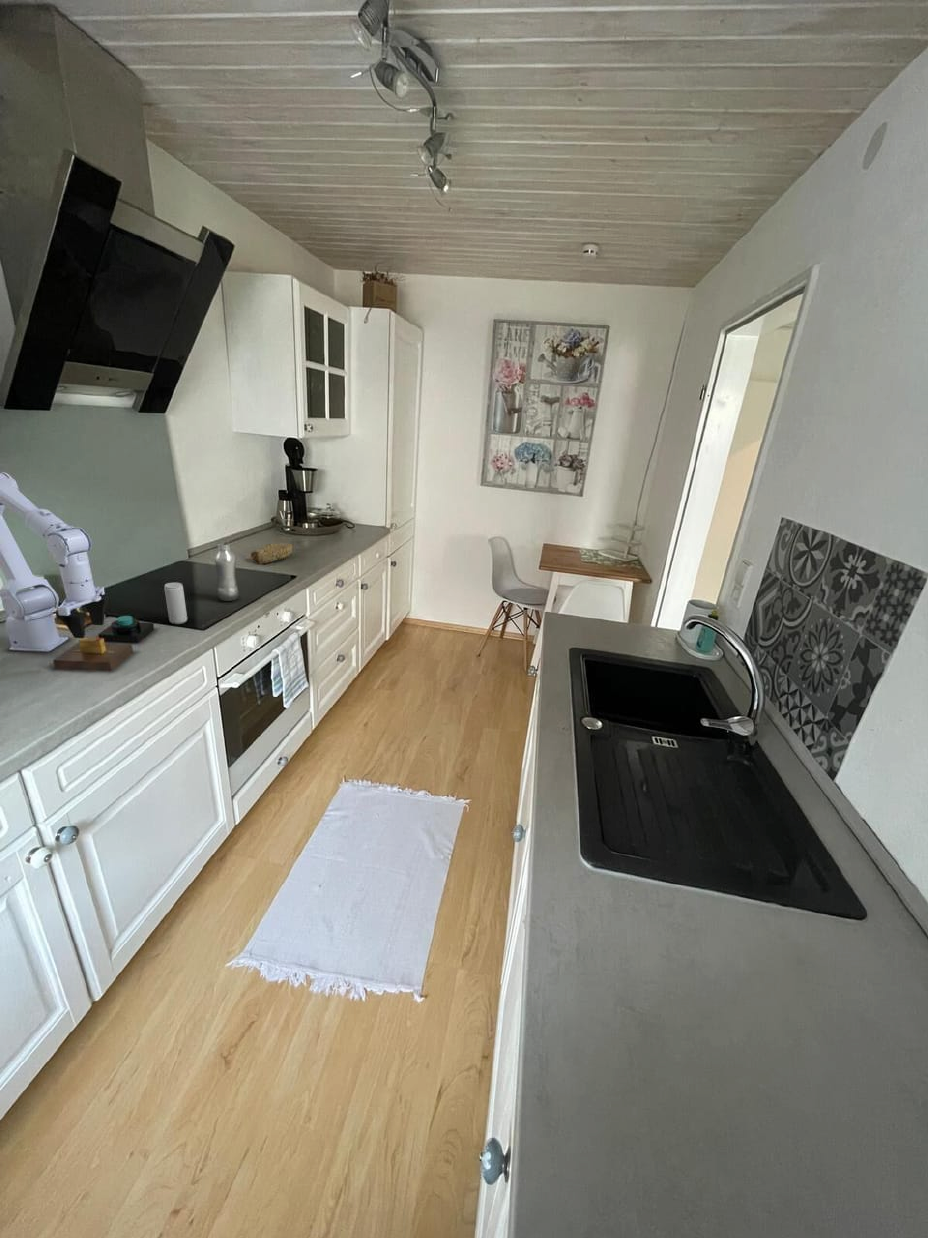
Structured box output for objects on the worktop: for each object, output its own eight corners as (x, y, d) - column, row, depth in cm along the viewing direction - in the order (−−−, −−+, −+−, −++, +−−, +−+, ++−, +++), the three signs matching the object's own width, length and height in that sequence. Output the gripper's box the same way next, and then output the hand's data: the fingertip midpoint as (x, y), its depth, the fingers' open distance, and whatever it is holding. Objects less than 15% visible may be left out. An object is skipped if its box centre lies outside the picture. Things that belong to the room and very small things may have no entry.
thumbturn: (81, 652, 123) (78, 639, 121) (85, 649, 124) (82, 636, 123) (102, 653, 123) (99, 640, 122) (106, 650, 125) (103, 637, 123)
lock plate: (55, 668, 119) (52, 659, 118) (81, 650, 129) (78, 641, 127) (111, 671, 121) (109, 661, 120) (133, 652, 130) (131, 643, 129)
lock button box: (99, 641, 134) (96, 628, 132) (118, 627, 142) (115, 615, 140) (138, 643, 135) (135, 630, 133) (154, 629, 143) (152, 617, 142)
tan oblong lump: (265, 569, 204) (304, 552, 218) (258, 552, 201) (298, 536, 214) (249, 566, 213) (288, 551, 226) (243, 550, 209) (282, 534, 222)
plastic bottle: (213, 600, 167) (207, 543, 159) (229, 594, 173) (224, 540, 165) (228, 604, 165) (222, 547, 157) (243, 598, 171) (238, 543, 163)
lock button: (115, 626, 135) (114, 620, 134) (122, 621, 138) (121, 615, 138) (128, 626, 136) (127, 621, 135) (135, 621, 139) (134, 616, 138)
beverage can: (179, 625, 147) (174, 588, 142) (165, 623, 148) (160, 586, 143) (191, 620, 151) (186, 583, 147) (177, 617, 152) (172, 581, 147)
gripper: (76, 591, 110) (88, 644, 115) (113, 571, 123) (122, 620, 129) (42, 589, 109) (56, 643, 114) (83, 569, 122) (93, 618, 128)
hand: (89, 630), depth 121 cm, fingers open, 7 cm apart
